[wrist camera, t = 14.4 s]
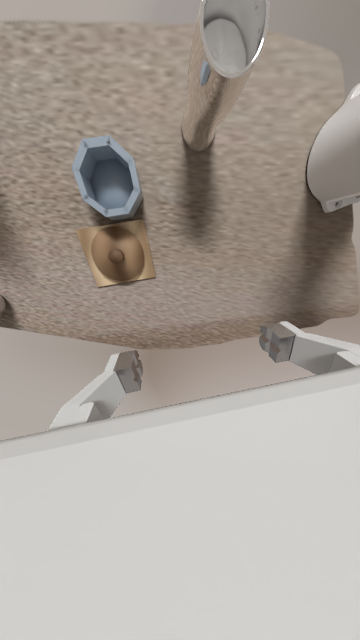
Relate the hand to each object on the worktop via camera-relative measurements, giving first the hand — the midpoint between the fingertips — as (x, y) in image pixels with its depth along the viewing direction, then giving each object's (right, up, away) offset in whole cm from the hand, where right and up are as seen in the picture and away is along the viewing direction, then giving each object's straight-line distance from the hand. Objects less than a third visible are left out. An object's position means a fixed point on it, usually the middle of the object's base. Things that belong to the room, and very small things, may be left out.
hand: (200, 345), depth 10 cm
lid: (-15, +16, +25) cm, 33 cm away
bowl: (-14, +27, +20) cm, 36 cm away
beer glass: (+2, +36, +17) cm, 40 cm away
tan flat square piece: (-15, +16, +25) cm, 33 cm away
